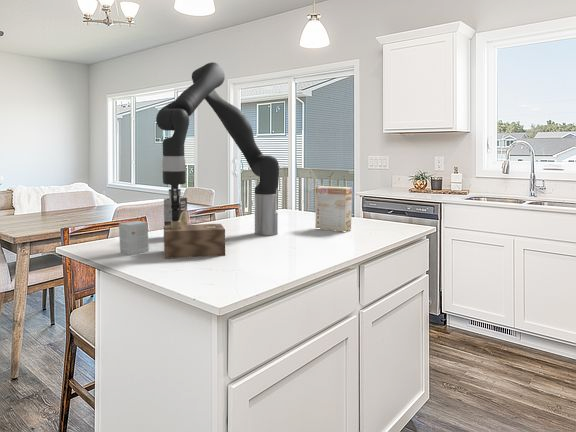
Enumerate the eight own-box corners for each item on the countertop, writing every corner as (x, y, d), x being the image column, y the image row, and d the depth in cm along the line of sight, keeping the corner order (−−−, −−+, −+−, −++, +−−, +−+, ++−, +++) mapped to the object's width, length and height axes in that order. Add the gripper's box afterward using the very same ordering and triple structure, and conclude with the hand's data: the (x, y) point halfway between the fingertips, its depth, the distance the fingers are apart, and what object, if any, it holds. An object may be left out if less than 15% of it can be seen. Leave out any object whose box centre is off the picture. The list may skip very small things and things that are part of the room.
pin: (180, 243, 159) (179, 220, 158) (180, 244, 156) (180, 221, 155) (171, 243, 158) (170, 220, 157) (171, 245, 155) (171, 221, 154)
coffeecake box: (351, 230, 206) (352, 187, 204) (344, 232, 200) (345, 188, 198) (322, 227, 214) (323, 185, 211) (314, 229, 208) (315, 186, 206)
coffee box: (179, 240, 181) (178, 199, 179) (164, 239, 183) (162, 199, 180) (188, 236, 190) (187, 197, 188) (174, 235, 191) (173, 196, 189)
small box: (138, 249, 164) (137, 220, 163) (149, 251, 161) (148, 221, 160) (119, 253, 158) (118, 223, 156) (129, 255, 155) (128, 224, 153)
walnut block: (220, 247, 167) (220, 223, 166) (225, 255, 156) (225, 229, 155) (164, 250, 162) (163, 225, 161) (164, 258, 151) (163, 231, 149)
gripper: (186, 170, 148) (187, 223, 150) (184, 169, 161) (185, 217, 163) (162, 170, 146) (164, 224, 148) (162, 169, 159) (163, 218, 161)
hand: (175, 220), depth 156 cm, fingers closed
